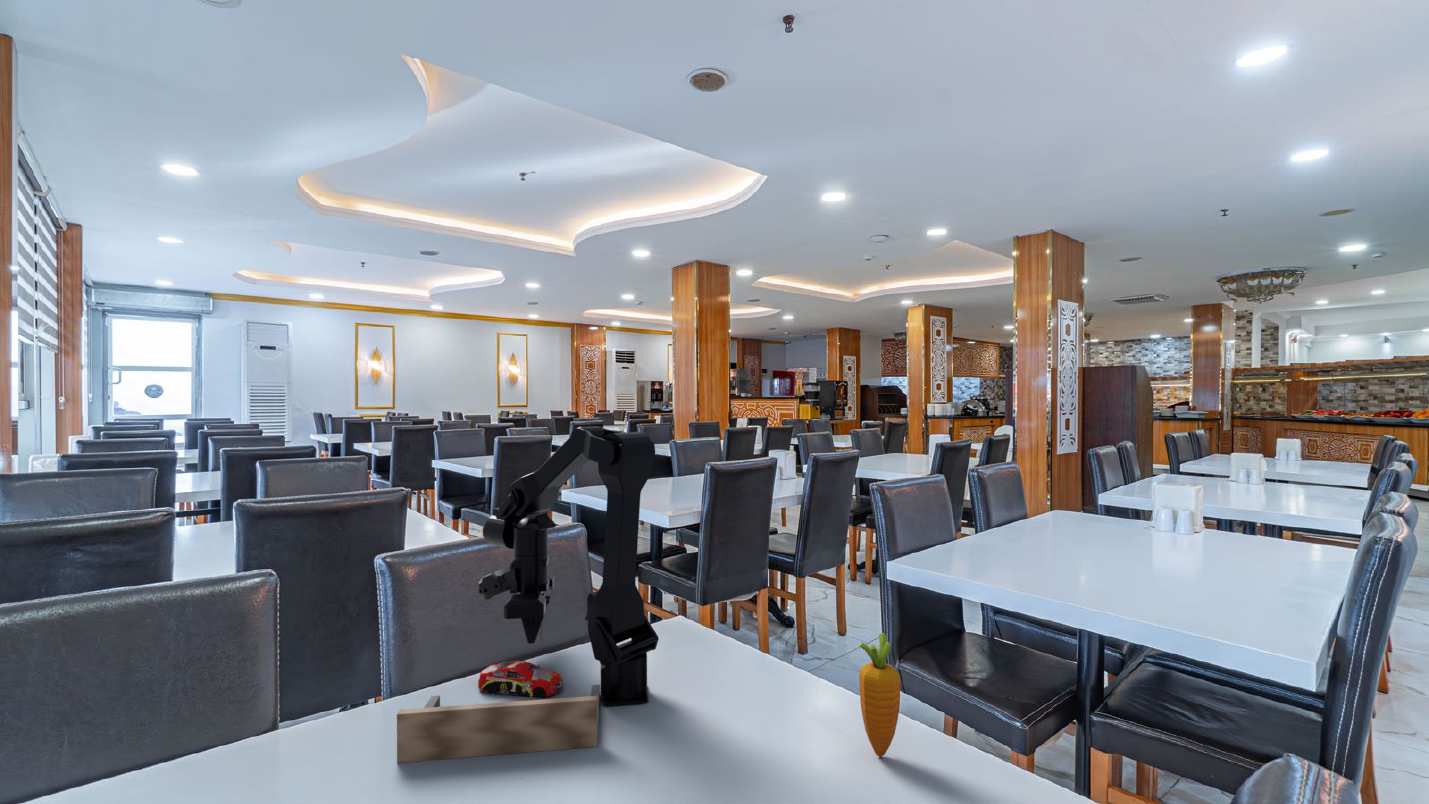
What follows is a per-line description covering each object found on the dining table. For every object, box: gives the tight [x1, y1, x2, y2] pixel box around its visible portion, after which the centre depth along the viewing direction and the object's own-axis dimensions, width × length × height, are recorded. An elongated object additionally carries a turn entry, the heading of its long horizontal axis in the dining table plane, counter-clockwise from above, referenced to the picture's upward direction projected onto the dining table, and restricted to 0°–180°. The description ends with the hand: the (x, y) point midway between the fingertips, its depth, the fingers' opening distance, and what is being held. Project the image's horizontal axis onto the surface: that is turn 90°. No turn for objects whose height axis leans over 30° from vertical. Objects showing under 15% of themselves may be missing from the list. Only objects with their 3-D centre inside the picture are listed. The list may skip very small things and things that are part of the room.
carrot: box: [858, 632, 901, 758], centre depth 81 cm, size 5×5×15 cm
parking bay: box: [396, 684, 601, 764], centre depth 89 cm, size 24×15×6 cm, turn 99°
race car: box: [477, 660, 564, 700], centre depth 100 cm, size 13×5×4 cm, turn 78°
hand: (531, 642), depth 112 cm, fingers closed
